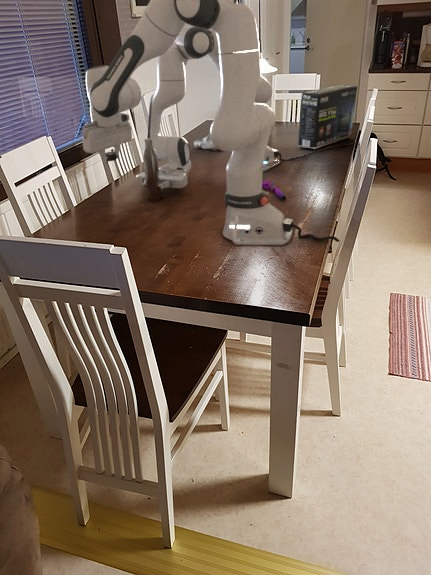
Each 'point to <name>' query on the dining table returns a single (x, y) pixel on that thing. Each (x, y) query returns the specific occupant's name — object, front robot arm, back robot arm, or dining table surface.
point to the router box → (326, 115)
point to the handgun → (273, 189)
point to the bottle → (151, 171)
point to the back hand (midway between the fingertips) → (152, 186)
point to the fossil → (205, 143)
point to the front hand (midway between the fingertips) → (111, 160)
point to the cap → (111, 156)
